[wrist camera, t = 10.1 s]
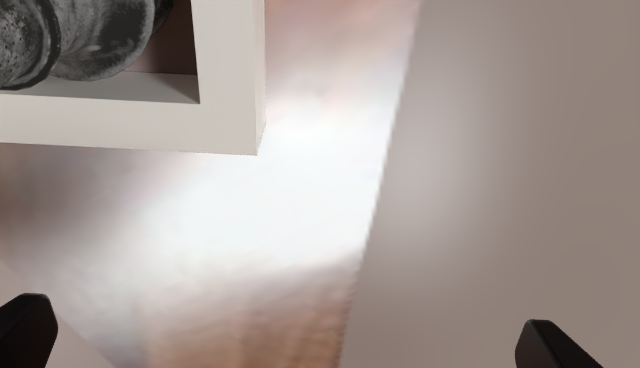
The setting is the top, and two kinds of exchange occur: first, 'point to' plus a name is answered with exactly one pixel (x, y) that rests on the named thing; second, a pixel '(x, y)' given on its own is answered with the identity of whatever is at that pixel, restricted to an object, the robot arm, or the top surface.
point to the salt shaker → (73, 38)
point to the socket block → (160, 96)
